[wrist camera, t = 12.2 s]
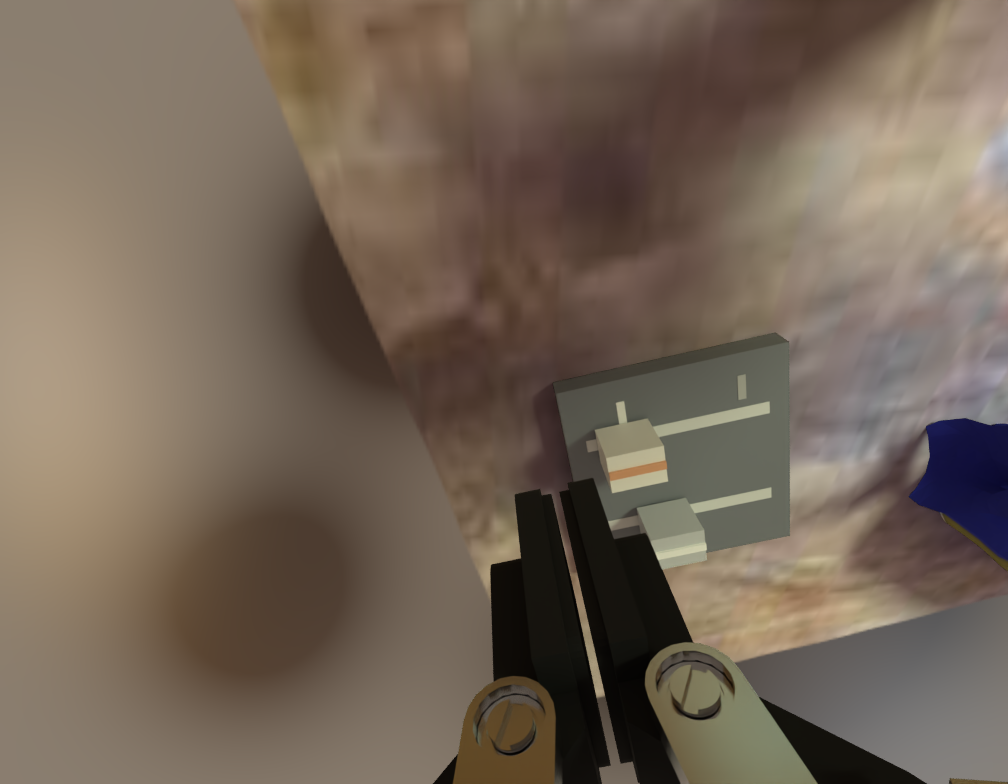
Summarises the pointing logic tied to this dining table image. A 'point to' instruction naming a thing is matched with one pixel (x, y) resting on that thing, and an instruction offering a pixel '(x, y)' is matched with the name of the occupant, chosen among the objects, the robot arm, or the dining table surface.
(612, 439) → the fader
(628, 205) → the dining table surface
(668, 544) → the fader
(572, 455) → the console
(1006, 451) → the bread
